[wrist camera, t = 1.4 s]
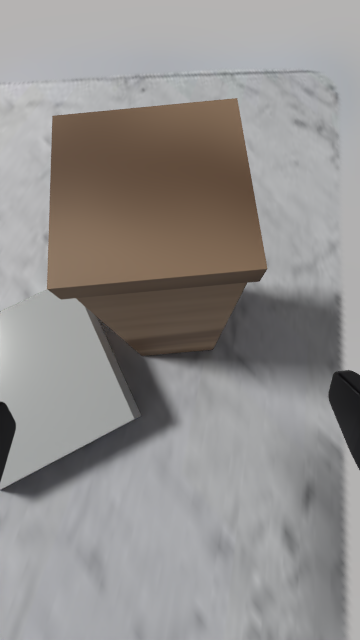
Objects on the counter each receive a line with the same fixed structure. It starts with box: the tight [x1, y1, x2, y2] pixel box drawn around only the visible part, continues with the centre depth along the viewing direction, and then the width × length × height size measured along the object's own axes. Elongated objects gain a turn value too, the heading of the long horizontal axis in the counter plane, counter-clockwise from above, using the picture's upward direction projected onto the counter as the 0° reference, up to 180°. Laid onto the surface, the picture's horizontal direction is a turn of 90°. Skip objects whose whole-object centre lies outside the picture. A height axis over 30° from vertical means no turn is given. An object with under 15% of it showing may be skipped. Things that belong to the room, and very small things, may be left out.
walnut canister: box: [47, 98, 267, 356], centre depth 14 cm, size 5×5×14 cm
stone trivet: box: [0, 289, 141, 490], centre depth 19 cm, size 10×10×3 cm
